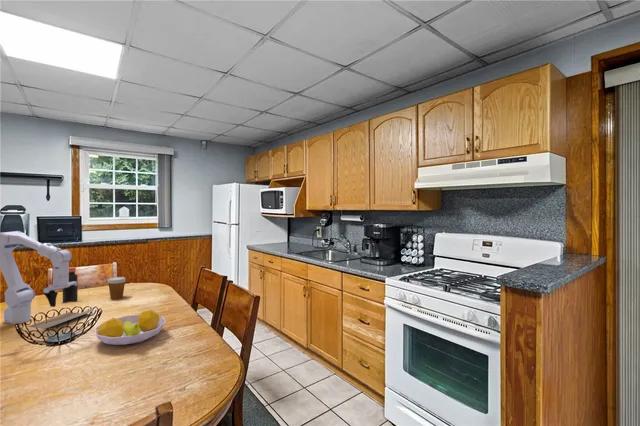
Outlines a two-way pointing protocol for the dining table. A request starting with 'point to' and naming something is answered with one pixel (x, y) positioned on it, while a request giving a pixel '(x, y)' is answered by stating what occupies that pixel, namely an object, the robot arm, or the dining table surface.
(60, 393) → the dining table surface
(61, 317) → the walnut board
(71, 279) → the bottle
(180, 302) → the dining table surface
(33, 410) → the dining table surface
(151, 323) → the fruit bowl
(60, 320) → the grey plank
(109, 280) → the disposable coffee cup
